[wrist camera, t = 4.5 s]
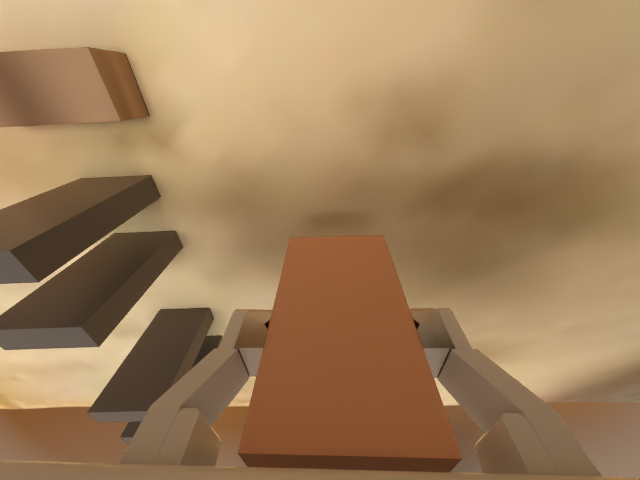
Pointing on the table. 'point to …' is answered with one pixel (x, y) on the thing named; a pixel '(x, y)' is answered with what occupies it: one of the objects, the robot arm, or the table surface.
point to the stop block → (67, 87)
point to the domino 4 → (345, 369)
